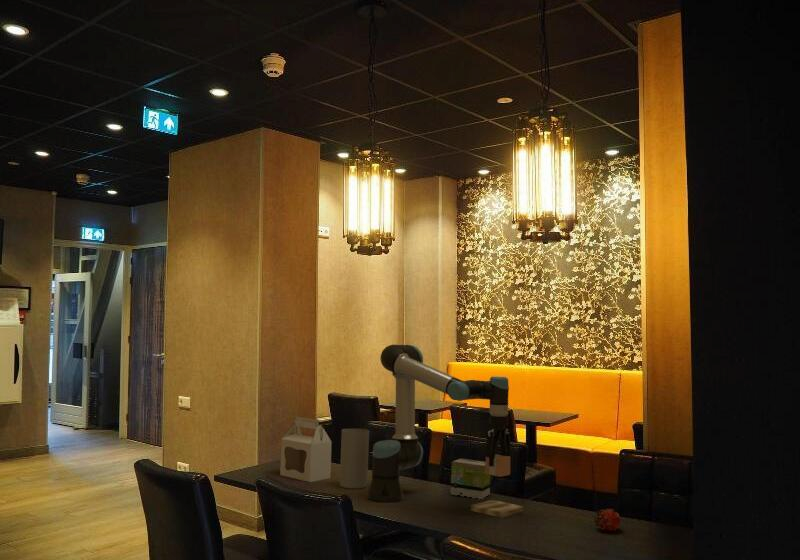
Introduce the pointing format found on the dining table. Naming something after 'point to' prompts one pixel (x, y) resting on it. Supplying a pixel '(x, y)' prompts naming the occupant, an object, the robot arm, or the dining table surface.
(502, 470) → the terracotta cube
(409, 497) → the dining table surface
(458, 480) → the tea box
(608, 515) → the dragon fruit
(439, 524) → the dining table surface
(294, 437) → the gable box
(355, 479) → the cylinder vase
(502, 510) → the birch board
